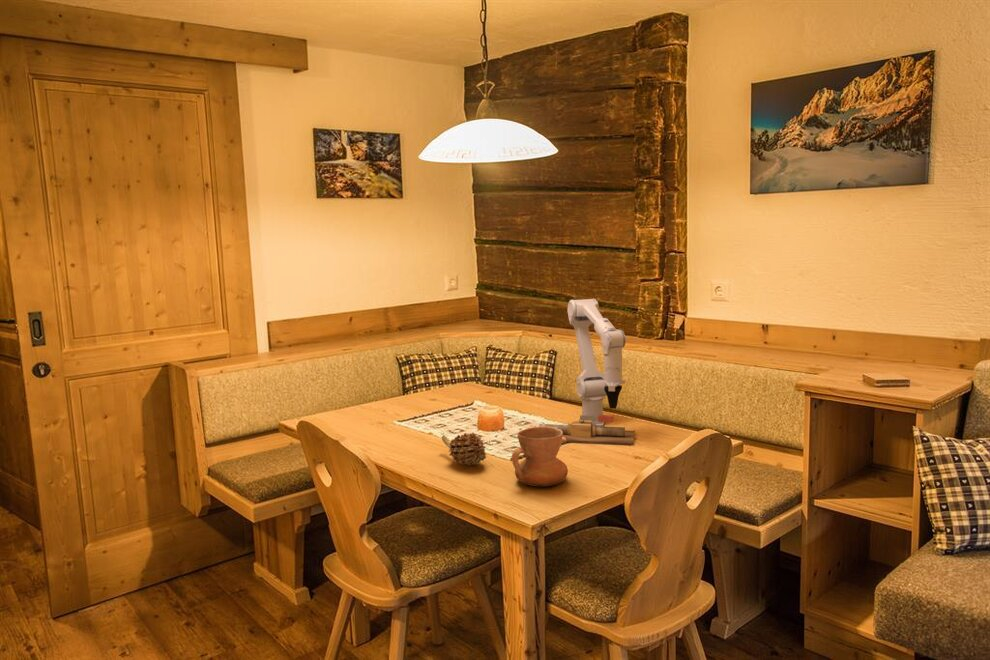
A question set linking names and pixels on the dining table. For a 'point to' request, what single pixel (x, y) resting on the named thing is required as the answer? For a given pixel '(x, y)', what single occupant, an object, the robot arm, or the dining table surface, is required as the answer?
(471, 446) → the pine cone
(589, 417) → the valve lever
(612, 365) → the robot arm
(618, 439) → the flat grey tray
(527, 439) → the ceramic jug
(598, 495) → the dining table surface
